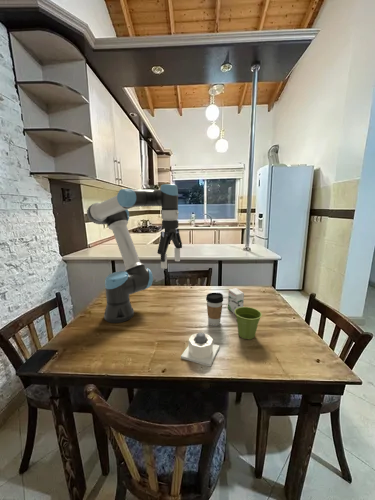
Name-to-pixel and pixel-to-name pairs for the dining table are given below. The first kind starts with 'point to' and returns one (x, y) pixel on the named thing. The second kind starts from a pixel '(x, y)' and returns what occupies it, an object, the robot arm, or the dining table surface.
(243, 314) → the plant pot
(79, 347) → the dining table surface
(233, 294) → the ink box
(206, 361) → the white square plate
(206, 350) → the collar
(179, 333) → the dining table surface
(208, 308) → the coffee cup
